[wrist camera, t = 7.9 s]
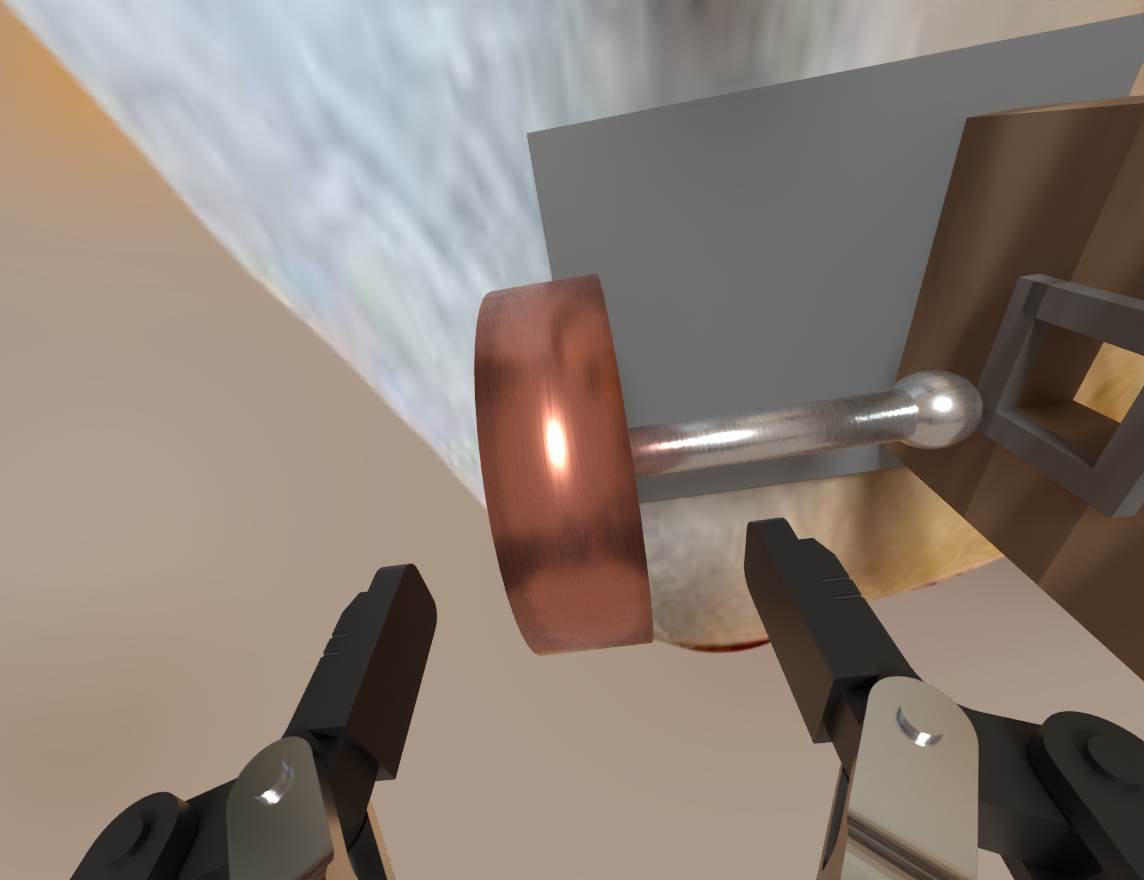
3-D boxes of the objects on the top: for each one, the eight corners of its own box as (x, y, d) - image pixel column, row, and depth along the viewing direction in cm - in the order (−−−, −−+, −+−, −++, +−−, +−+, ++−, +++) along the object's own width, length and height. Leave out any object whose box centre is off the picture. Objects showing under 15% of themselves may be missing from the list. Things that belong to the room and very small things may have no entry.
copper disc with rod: (898, 186, 15) (1437, 241, 6) (841, 448, 21) (1062, 680, 12) (505, 255, 16) (432, 399, 7) (558, 488, 22) (558, 733, 13)
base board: (1116, 20, 15) (1165, 8, 14) (954, 441, 25) (974, 457, 24) (529, 134, 17) (526, 133, 16) (591, 492, 27) (593, 509, 25)
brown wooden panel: (1026, 106, 16) (2121, 2, 5) (918, 436, 23) (1237, 687, 12) (949, 120, 16) (1833, 52, 5) (867, 443, 23) (1137, 698, 12)
